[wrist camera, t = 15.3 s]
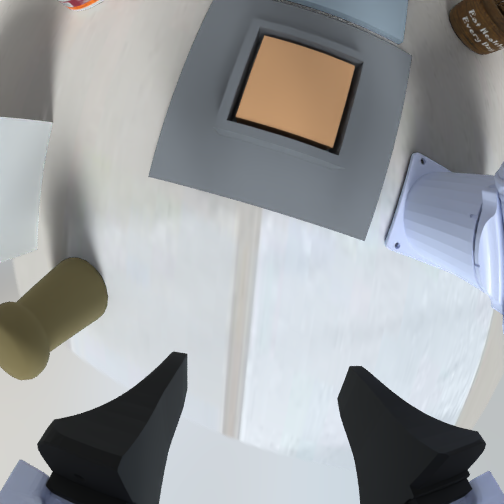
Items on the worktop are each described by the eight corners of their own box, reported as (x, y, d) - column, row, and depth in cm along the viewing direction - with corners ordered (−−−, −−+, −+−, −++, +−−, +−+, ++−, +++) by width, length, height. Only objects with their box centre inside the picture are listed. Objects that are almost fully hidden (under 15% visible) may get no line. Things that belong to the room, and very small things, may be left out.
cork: (70, 242, 21) (-22, 289, 10) (119, 291, 22) (45, 368, 11) (46, 288, 22) (-30, 343, 11) (90, 332, 23) (26, 406, 12)
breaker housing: (407, 58, 17) (429, 44, 13) (360, 238, 21) (379, 250, 17) (219, -5, 15) (214, -29, 12) (152, 176, 19) (132, 177, 16)
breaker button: (345, 75, 16) (355, 65, 14) (324, 150, 18) (332, 147, 16) (263, 47, 16) (264, 35, 14) (237, 122, 17) (235, 116, 15)
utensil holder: (450, -1, 14) (514, -43, 2) (491, 38, 15) (561, 13, 3) (442, 26, 15) (519, -18, 4) (486, 69, 16) (568, 47, 4)
